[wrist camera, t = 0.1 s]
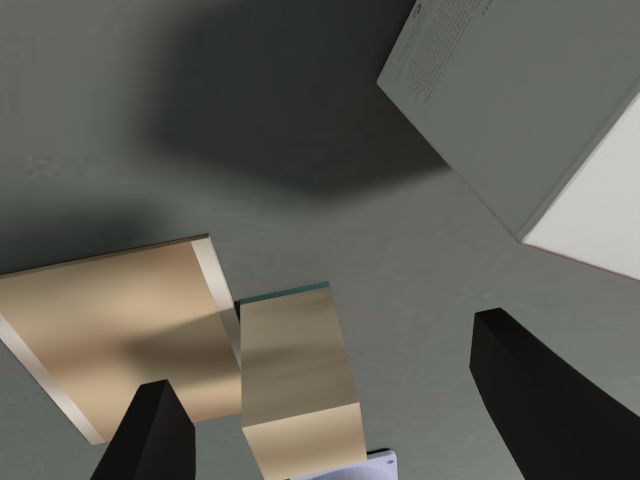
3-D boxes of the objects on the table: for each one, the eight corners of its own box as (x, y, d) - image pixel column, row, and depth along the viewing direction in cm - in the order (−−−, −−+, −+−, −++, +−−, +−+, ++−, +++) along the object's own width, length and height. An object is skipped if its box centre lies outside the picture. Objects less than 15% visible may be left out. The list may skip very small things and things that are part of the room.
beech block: (338, 339, 25) (367, 460, 20) (259, 356, 25) (266, 483, 19) (328, 281, 23) (359, 402, 17) (240, 299, 22) (242, 427, 17)
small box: (371, 81, 17) (506, 246, 9) (453, -86, 14) (769, -84, 6) (527, 149, 20) (744, 324, 11) (620, 22, 17) (995, 127, 9)
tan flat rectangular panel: (268, 402, 28) (269, 406, 27) (93, 440, 27) (91, 445, 27) (209, 233, 20) (208, 237, 19) (-39, 283, 19) (-43, 288, 19)
